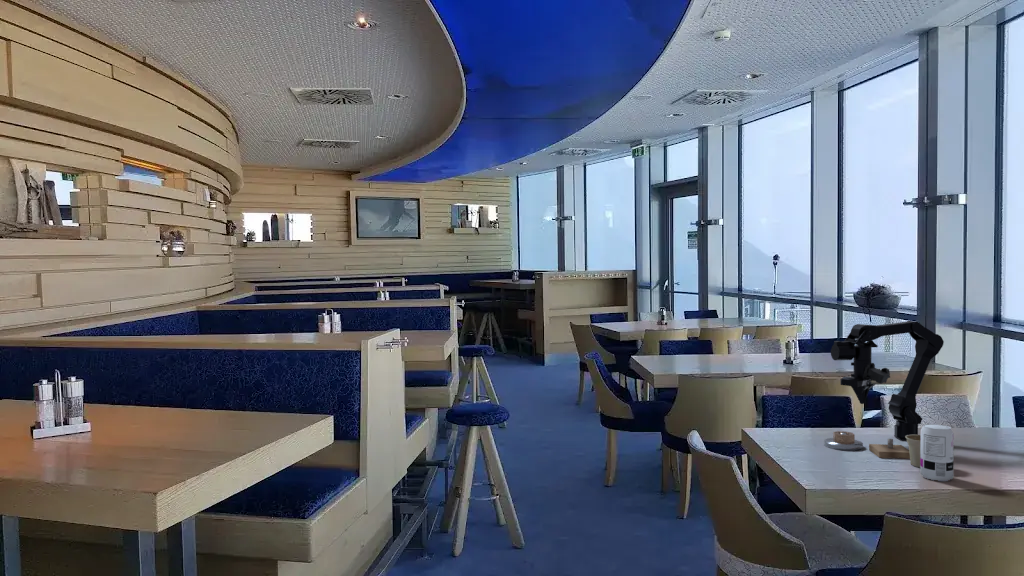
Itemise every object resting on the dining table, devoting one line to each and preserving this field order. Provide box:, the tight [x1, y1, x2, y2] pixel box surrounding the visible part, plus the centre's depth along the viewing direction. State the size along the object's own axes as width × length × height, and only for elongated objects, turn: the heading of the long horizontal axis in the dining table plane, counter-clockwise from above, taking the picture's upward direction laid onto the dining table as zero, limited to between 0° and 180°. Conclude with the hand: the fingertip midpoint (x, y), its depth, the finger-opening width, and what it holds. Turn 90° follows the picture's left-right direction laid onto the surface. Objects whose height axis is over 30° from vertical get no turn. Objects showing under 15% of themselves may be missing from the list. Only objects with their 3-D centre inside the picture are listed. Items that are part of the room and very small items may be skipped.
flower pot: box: [905, 434, 921, 468], centre depth 218 cm, size 9×9×9 cm
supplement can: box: [919, 423, 955, 482], centre depth 205 cm, size 8×8×15 cm
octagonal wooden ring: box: [832, 430, 856, 444], centre depth 242 cm, size 6×6×3 cm
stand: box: [868, 438, 910, 460], centre depth 232 cm, size 10×10×5 cm
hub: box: [823, 433, 864, 452], centre depth 243 cm, size 12×12×4 cm
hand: (862, 403), depth 251 cm, fingers closed
